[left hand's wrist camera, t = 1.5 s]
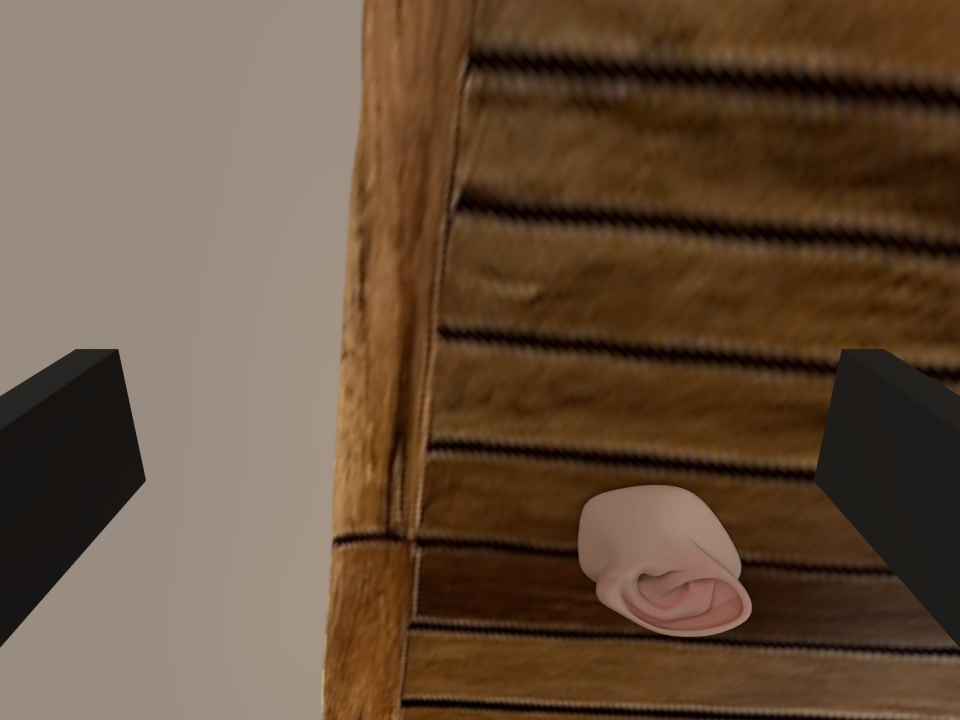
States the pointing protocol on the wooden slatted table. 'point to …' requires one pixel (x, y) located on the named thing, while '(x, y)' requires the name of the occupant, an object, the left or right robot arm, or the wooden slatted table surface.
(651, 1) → the wooden slatted table surface
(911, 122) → the wooden slatted table surface
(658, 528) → the anatomical model
